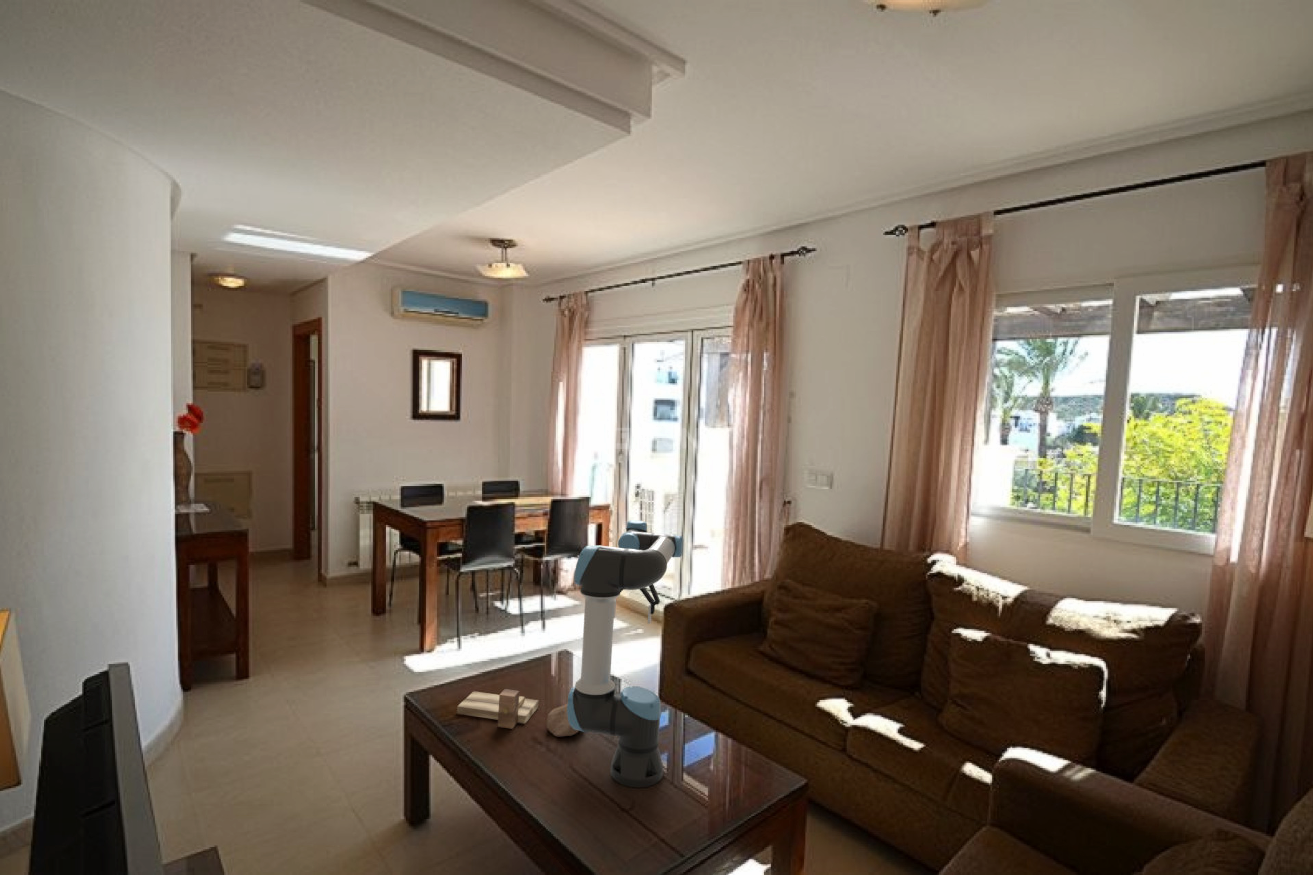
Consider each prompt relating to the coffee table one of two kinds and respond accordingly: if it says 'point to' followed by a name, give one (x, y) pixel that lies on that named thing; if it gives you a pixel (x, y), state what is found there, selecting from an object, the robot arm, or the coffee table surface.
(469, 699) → the board
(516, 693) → the block
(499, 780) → the coffee table surface
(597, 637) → the robot arm
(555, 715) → the stone
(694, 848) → the coffee table surface
